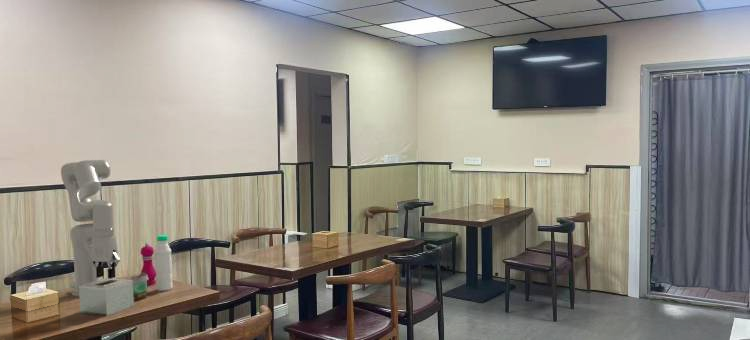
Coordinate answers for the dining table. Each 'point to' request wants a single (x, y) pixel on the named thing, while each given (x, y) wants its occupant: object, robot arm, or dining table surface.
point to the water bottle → (163, 264)
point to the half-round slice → (139, 286)
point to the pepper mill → (148, 264)
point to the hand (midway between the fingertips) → (105, 276)
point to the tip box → (106, 296)
